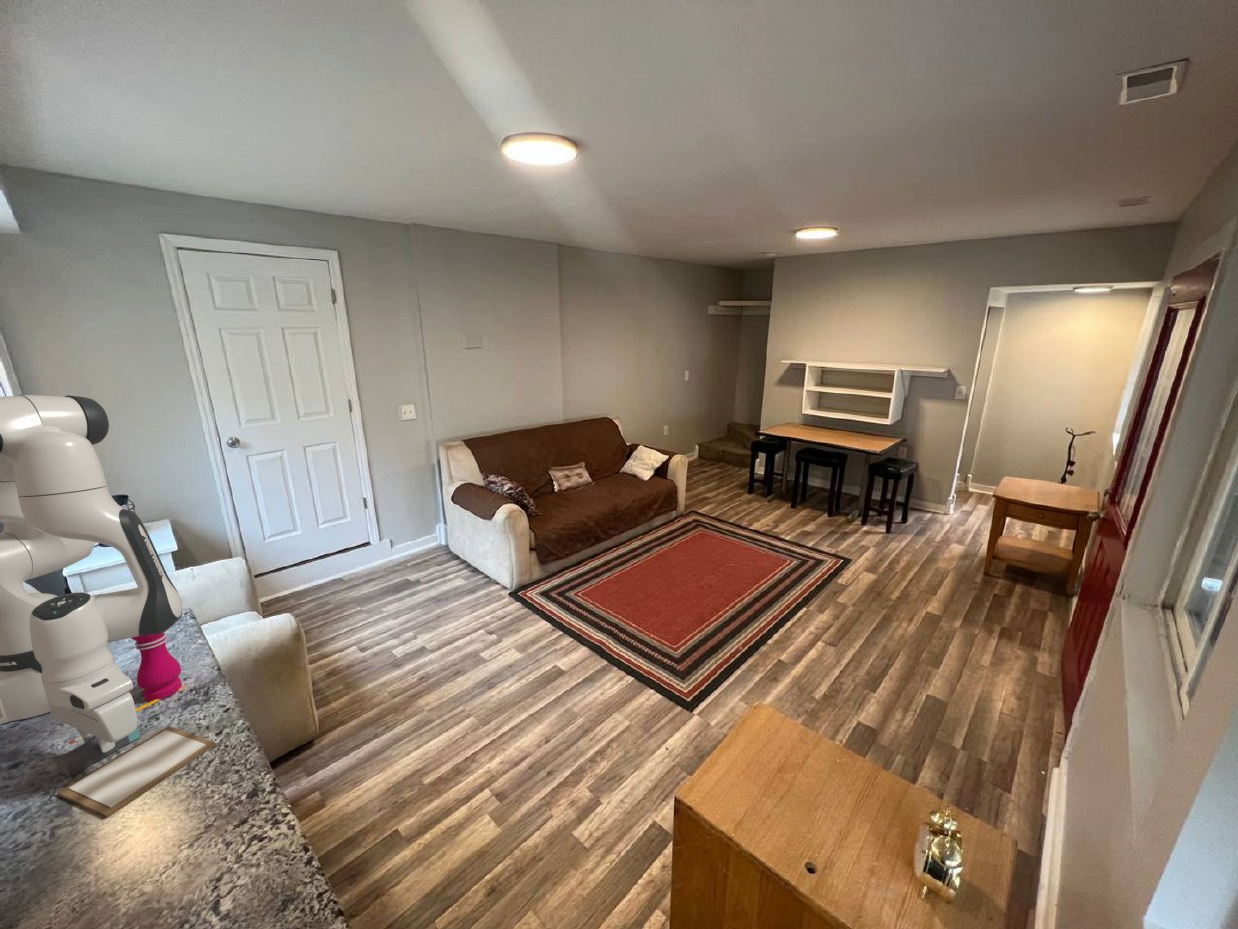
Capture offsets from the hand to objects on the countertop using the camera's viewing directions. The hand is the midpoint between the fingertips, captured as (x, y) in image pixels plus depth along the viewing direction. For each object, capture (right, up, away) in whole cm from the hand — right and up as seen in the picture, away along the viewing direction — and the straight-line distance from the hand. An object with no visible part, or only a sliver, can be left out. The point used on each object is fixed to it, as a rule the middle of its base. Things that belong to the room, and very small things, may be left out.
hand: (100, 746), depth 90 cm
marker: (0, -2, 0) cm, 2 cm away
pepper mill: (-5, +1, +18) cm, 19 cm away
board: (+11, -2, -3) cm, 11 cm away
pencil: (-6, 0, +12) cm, 13 cm away
